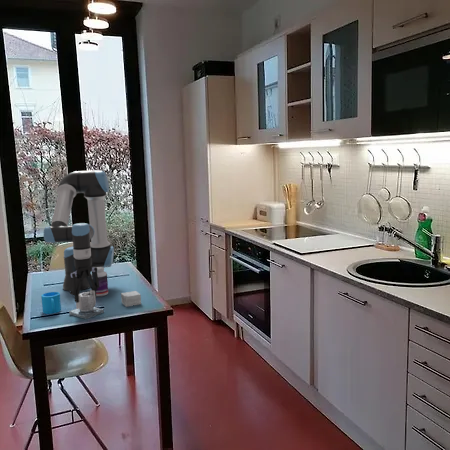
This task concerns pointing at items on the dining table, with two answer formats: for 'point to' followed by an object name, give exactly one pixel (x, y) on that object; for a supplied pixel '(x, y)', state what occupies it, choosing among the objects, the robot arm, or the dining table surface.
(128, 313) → the dining table surface
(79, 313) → the block
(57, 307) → the mug
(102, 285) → the pill bottle
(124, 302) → the small box
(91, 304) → the tube
